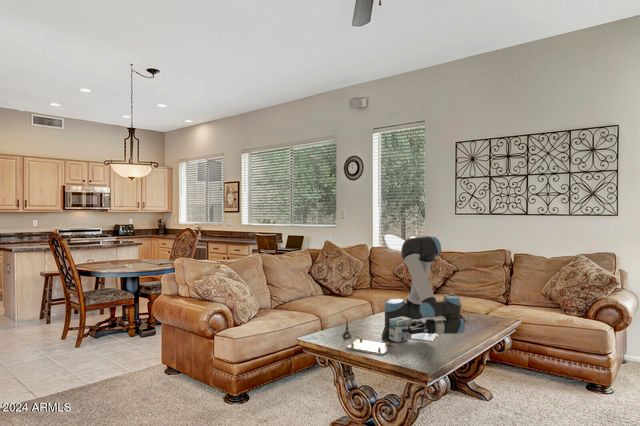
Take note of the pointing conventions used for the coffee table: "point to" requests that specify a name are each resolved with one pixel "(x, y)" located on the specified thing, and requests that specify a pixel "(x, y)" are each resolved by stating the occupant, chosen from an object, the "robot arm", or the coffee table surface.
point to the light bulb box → (399, 322)
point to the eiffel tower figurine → (347, 333)
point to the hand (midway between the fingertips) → (392, 326)
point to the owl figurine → (455, 296)
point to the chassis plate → (370, 347)
